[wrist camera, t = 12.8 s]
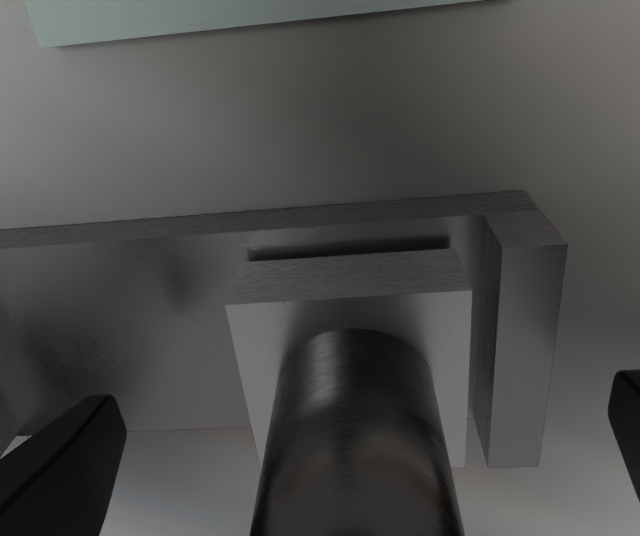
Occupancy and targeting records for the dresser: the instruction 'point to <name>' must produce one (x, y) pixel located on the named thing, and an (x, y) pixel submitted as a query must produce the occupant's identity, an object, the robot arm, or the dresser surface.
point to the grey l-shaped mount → (182, 16)
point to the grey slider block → (355, 390)
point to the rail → (212, 322)
